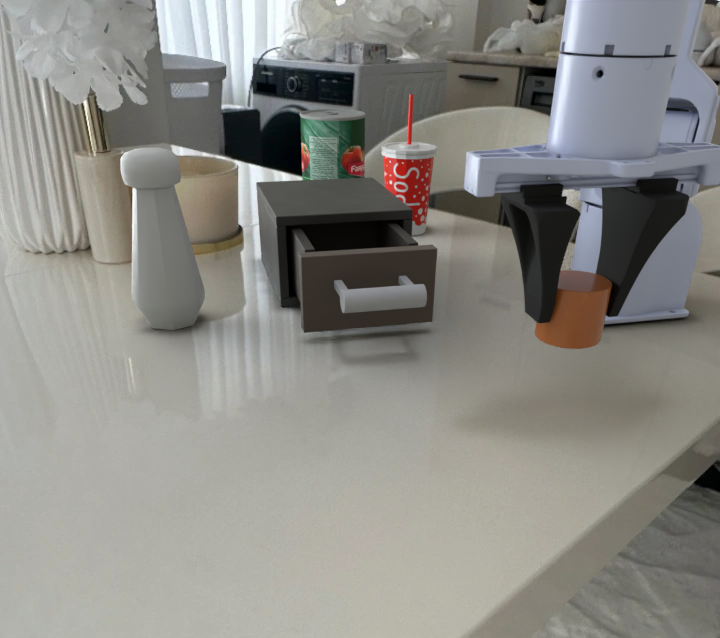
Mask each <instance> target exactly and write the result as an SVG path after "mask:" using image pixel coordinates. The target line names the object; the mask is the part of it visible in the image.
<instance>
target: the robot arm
mask: <svg viewBox="0 0 720 638" xmlns="http://www.w3.org/2000/svg"><path fill="white" fill-rule="evenodd" d="M705 4H706V0H566V2H565V8H564V14H563V15H564V16H563V23H562V30H561V38H560V44H559V53H558V58H557V66H556V73H555V79H554V88H553V95H552V102H551V109H550V115H549V124H548V129H547V130H548V131H547V136H546V142H543V143H536V144H529V145H528V144H527V145H520V146H511V147H505V148H504V147H503V148H495V149H494V148H493V149H485V150H484V149H483V150H468V151H466V154H465V156H466V157H465V168H464V179H463V181H464V182H463V190H464V191H466V192H467V193H469V194H470V195H473V196H474V197H476V198H488V197H489V198H490V197H492V198H493V197H495V195H496V194H500V203H501V205H502V209H503V210H504V213H505V215H506V218H507V221H508V223H509V226H510V230H511V232H512V235H513V239H514V242H515V247H516V250H517V254H518V259H519V265H520V271H521V279H522V285H523V296H524V298H523V299H524V313H525V314H527V315H528V316H529V317H530V318H531V319H532V320H534V321H535V323H536V322H537V323H549V322H550V319H551V317H552V314H553V310H554V306H555V301H556V295H557V288H558V282H559V275H560V271H562V267H563V262H564V260H565V256H566V253H567V249H568V246H569V243H570V240H571V238H572V235H573V233H574V230H575V227H576V226H577V224H578V226H577V231H576V236H575V242H574V248H573V254H572V259H571V266H570V270H575V271H585V272H590V273H595V274H598V275H601V276H603V277H605V278H607V279H609V280H610V281H611V282H612V289H611V294H610V299H609V303H608V308H607V313H606V318H605V323H604V325H614V324H627V323H637V322H647V321H649V322H650V321H658V320H669V319H670V320H671V319H681V318H682V319H683V318H687V317H689V314H690V311H689V310H688V309H687V308H685V305H686V301H687V297H688V293H689V290H690V286H691V283H692V279H693V275H694V272H695V268H696V265H697V260H698V257H699V253H700V250H701V247H702V241H703V234H704V233H703V232H704V231H703V230H704V229H703V219H702V215H701V212H700V209H698V207H697V206H696V205H695V204H694V203H693V202H692V201H690V200H691V199H692V198H694V197H695V196H696V195H698V192H699V189H700V186H719V185H720V145H719V144H716V143H712V140H713V136H714V132H715V128H716V123H717V119H716V117H717V114H718V110H719V106H720V95H719V87H718V85H717V83H716V82H715V81H714V80H713V79H712V78H711V77H710V76H709V75H708V74H707V73H706V72H705V71H704V70H703V68H701V67H700V66H699V65H698V63H696V62H695V60H694V59H693V58H692V57H693V53H694V49H695V45H696V41H697V37H698V33H699V29H700V23H701V21H702V17H703V13H704V8H705ZM668 108H671V109H683V110H667V109H668ZM684 110H686V111H684ZM687 110H688V111H687ZM564 190H565V191H566V190H573V191H578V192H579V193H578V201H579V202H581V207H580V210H578V209H577V208H575V207H573V206H572V205H569V204H568V203H567V202H568V201H567V200H568V196H566V195H563V192H564Z"/></svg>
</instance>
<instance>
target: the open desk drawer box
mask: <svg viewBox="0 0 720 638" xmlns="http://www.w3.org/2000/svg"><path fill="white" fill-rule="evenodd" d="M255 185H256V187H255V188H256V201H257V214H258V228H259V231H258V232H259V243H260V253H261V254H260V258H261V259H260V260H261V263H262V265H263V267H264V270H265V273H266V274H267V277H268V279H269V282H270V284H271V286H272V289H273V291H274V293H275V296H276V298H277V301H278V303H279V305H280V307H281V308H287V307H288V308H289V307H301V305H300V301H299V299H298V297H297V295H296V293H295V290H294V288H293V286H292V284H291V282H290V280H289V277H288V256H287V236H286V226H296V225H314V224H332V223H351V222H369V221H388V220H394V221H395V222H396V223H397V224H398V225H399V226H400V227H401V228H402V229H403V230H405V231H406V232H407V233H408V234H409V235H410V236H411V237H412V238H413V236H412V217H413V210H412V209H411V208H410V207H409V206H407V205H406V204H405V203H404V202H402V201H401V200H400V199H399V198H397V197H396V196H395V195H394V194H392V193H391V192H390V191H389V190H387V189H386V188H385V185H382V184H381V182H379V181H378V180H376V179H375V178H374V177H371V176H370V177H364V178H346V179H321V180H301V179H300V180H297V179H296V180H275V181H274V180H273V181H257V182H255Z"/></svg>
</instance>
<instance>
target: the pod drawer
mask: <svg viewBox="0 0 720 638" xmlns="http://www.w3.org/2000/svg"><path fill="white" fill-rule="evenodd" d="M286 236H287V256H288V277H289V280H290V282H291V284H292V286H293V288H294V290H295V293H296V295H297V297H298V299H299V301H300V305H301V306H300V325H301V329H302V331H303V333H304V334H307V333H318V332H329V331H330V332H331V331H340V330H341V331H342V330H353V329H366V328H376V327H377V328H378V327H389V326H402V325H412V324H413V325H414V324H422V323H423V324H424V323H425V324H426V323H433V320H434V306H435V291H436V289H435V288H436V275H437V261H438V248H437V247H436V246H435V245H434V244H421V245H420V244H419V242H418V241H416V239H415V238H414V237H413V236H412V237H411V236H410V235H409V234H408V233H407V232H406V231H405V230H403V229H402V228H401V227H400V226H399V225H398V224H397V223H396V222H395V221H394V220H388V221H369V222H351V223H332V224H314V225H296V226H286Z"/></svg>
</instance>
